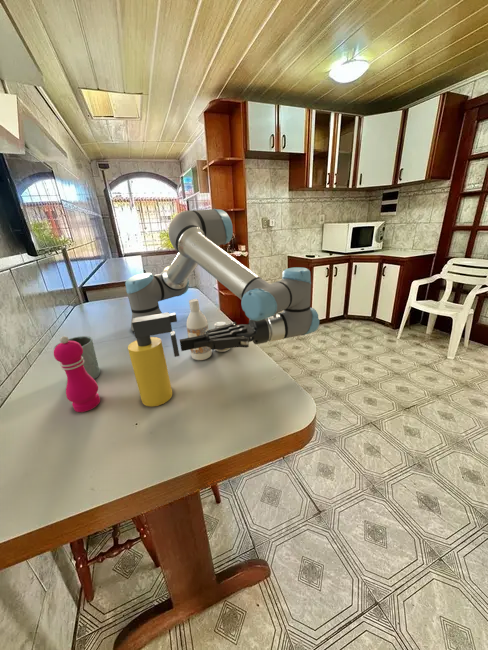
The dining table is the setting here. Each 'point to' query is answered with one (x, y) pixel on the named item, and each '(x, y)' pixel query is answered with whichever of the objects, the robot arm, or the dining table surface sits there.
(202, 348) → the bath foam
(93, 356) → the gray cup
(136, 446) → the dining table surface
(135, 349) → the spray bottle
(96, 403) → the pepper mill
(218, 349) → the pill bottle
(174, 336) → the trigger
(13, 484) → the dining table surface
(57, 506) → the dining table surface
